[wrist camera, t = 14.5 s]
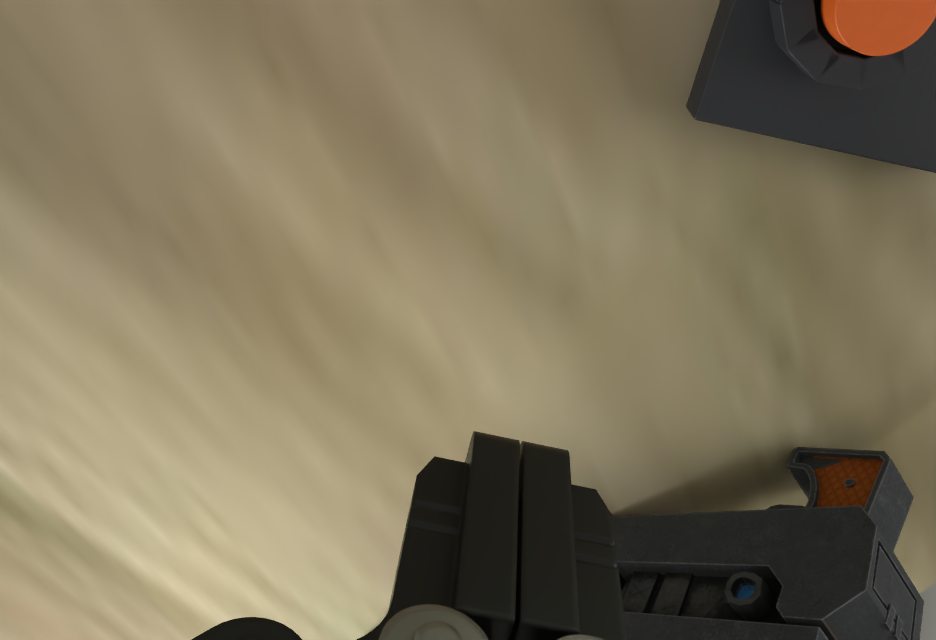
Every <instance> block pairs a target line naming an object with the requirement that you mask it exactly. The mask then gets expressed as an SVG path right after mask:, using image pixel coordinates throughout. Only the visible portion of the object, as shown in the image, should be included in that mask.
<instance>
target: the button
mask: <svg viewBox="0 0 936 640" xmlns="http://www.w3.org/2000/svg"><path fill="white" fill-rule="evenodd" d="M820 10H821V17H822V21H823V24H824V26H825V28H826V30H827V31H828V33H829V34H830V35H831V36H832V37H833V38H834V39H835V40H836V41H838V42H839V43H841V44H843V45H845V46H847V47H849V48H851V49H852V50H854V51H856V52H859V53H861V54H864V55H870V56H884V55H889V54H893V53H896V52H898V51H901V50H903V49H905V48H907V47H908V46H910V45H911V44H913V43H914V42H915V41H917V40H918V39H919V38H920V37H921V36H922V35H923V34H924V33H925V32H926V31H927V29H928V28H929V27H930V25H931V24H932V22H933V21H934V19H935V17H936V0H821V4H820Z"/></svg>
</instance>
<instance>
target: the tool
mask: <svg viewBox="0 0 936 640" xmlns="http://www.w3.org/2000/svg"><path fill="white" fill-rule="evenodd" d="M787 467H788V469H789V470H790V472H791V473H792V475H793V476H794V478H795V479H796V481H797V482H798V484H799V485H800V487H801V488H802V490H803V492H804V493H805V495H806V496H807V498H808V499H809V501H808V503H807V505H806V507H804V506H795V505H775V506H771V507H769V508H768V509H766V510H748V511H725V512H703V513H681V514H658V515H636V516H614V517H612V520H613V528H614V536H615V545H614V546H615V547H616V552H617V561H618V564H617V569H619V577H620V585H621V593H622V602H623V610H624V618H625V626H626V634H627V640H920V631H921V622H922V614H923V605H924V601H923V599H922V598H921V596H920V594H919V593H918V591H917V590H916V588H915V586H914V585H913V583H912V582H911V580H910V578H909V577H908V575H907V573H906V572H905V570H904V569H903V567H902V565H901V564H900V562H899V561H898V559H897V557H896V556H895V554H894V552H893V551H894V548H895V545H896V543H897V540H898V537H899V535H900V532H901V529H902V527H903V524H904V521H905V519H906V516H907V513H908V511H909V508H910V505H911V503H912V500H913V498H914V497H913V496H912V494H911V492H910V491H909V489H908V487H907V485H906V484H905V482H904V480H903V479H902V477H901V475H900V473H899V472H898V470H897V468H896V467H895V465H894V463H893V461H892V460H891V458H890V457H889V456H888V455H887V454H886V452H885V451H870V450H848V449H827V448H805V447H797V448H796V449H794V450H793V452H792V455H791V457H790V460H789V462H788V465H787Z"/></svg>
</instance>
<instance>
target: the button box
mask: <svg viewBox="0 0 936 640" xmlns="http://www.w3.org/2000/svg"><path fill="white" fill-rule="evenodd" d="M820 4H821V0H721V1H720V4H719V7H718V10H717V13H716V16H715V19H714V23H713V26H712V29H711V32H710V35H709V38H708V41H707V44H706V47H705V50H704V53H703V56H702V59H701V62H700V65H699V68H698V72H697V75H696V78H695V81H694V84H693V87H692V90H691V93H690V96H689V99H688V102H687V105H686V107H687V109H688V110H689V112H690V113H691V115H692V116H693V118H694V119H695V120H699V121H704V122H708V123H713V124H717V125H722V126H726V127H731V128H735V129H740V130H744V131H749V132H753V133H758V134H762V135H767V136H771V137H776V138H780V139H785V140H789V141H794V142H798V143H803V144H807V145H812V146H817V147H821V148H826V149H830V150H835V151H839V152H844V153H848V154H853V155H857V156H862V157H866V158H871V159H875V160H880V161H884V162H889V163H893V164H898V165H902V166H907V167H911V168H916V169H920V170H925V171H929V172H934V173H936V17H935V19H934V21H933V22H932V24H931V25H930V27H929V28H928V29H927V31H926V32H925V33H924V34H923V35H922V36H921V37H920V38H919V39H918V40H917V41H915V42H914V43H913V44H911V45H910V46H908V47H907V48H905V49H903V50H901V51H898V52H896V53H893V54H889V55H884V56H870V55H864V54H861V53H859V52H856V51H854V50H852V49H851V48H849V47H847V46H845V45H843V44H841V43H839V42H838V41H836V40H835V39H834V38H833V37H832V36H831V35H830V34H829V33H828V31H827V30H826V28H825V26H824V24H823V21H822V17H821V10H820Z"/></svg>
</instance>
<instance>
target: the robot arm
mask: <svg viewBox="0 0 936 640" xmlns="http://www.w3.org/2000/svg"><path fill="white" fill-rule="evenodd" d="M614 545H615V536H614V528H613V520H612V514H611V513H610V511H609V510H608V508H607V506H606V505H605V503H604V502H603V500H602V498H601V497H600V495H599V494H598V492H597V490H595V489H591V488H586V487H581V486H576V485H571V473H570V457H569V452H568V451H567V450H563V449H558V448H553V447H548V446H544V445H539V444H534V443H529V442H524V441H522V442H521V444H520V442H519V440H514V439H509V438H504V437H499V436H495V435H490V434H485V433H480V432H475V431H474V432H473V434H472V438H471V441H470V445H469V449H468V453H467V457H466V461H465V463H464V462H459V461H454V460H449V459H444V458H439V457H434V458H433V459H432V460H431V461H430V462H429V463H428V464H427V465H426V466H425V467H424V468H423V470H422V471H421V472H420V473H419V474H418V475H417V478H416V482H415V487H414V492H413V496H412V501H411V505H410V510H409V515H408V519H407V524H406V528H405V533H404V538H403V542H402V547H401V552H400V557H399V562H398V567H397V572H396V577H395V582H394V586H393V591H392V597H391V601H390V606H389V611H388V613H387V615H386V617H385V618H384V619H383V621H382V622H381V623H380V624H379V625H378V626H377V627H376V628H375V629H374V630H373V631H371V632H370V633H368V634H367V635H365V636H363V637H361V638H359V639H357V640H627V634H626V626H625V618H624V610H623V602H622V593H621V585H620V577H619V569H617V564H618V561H617V552H616V547H615V546H614ZM192 640H302V639H301V638H300V637H299V635H297V634H296V633H295V632H294V631H293V630H292V629H290V628H288V627H287V626H285V625H284V624H281V623H279V622H276V621H274V620H270V619H266V618H257V617H245V618H238V619H233V620H229V621H226V622H223V623H221V624H219V625H217V626H215V627H213V628H211V629H209V630H207V631H206V632H204V633H202V634H200V635H199V636H197V637H195V638H193V639H192Z"/></svg>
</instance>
